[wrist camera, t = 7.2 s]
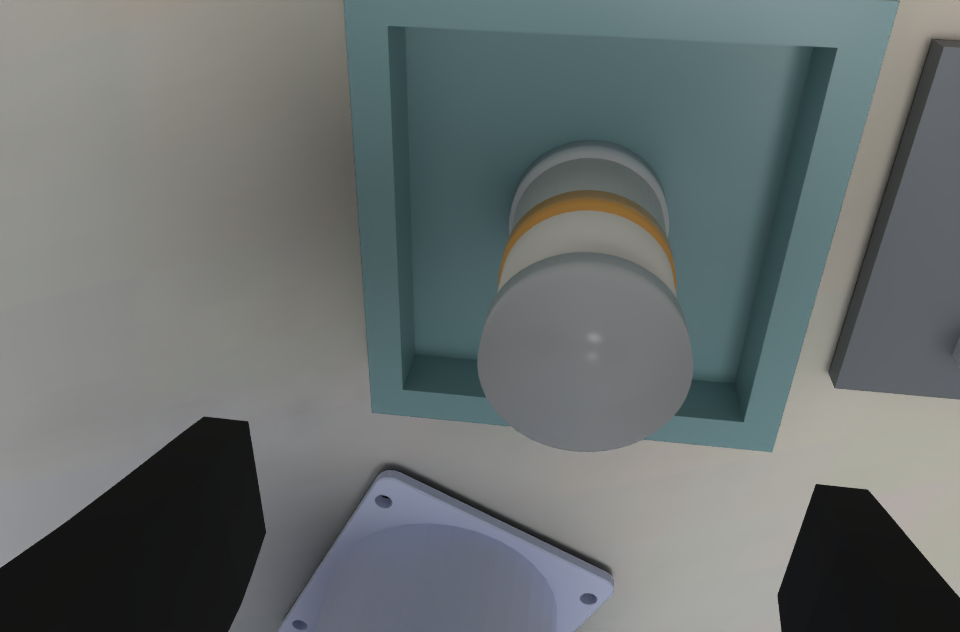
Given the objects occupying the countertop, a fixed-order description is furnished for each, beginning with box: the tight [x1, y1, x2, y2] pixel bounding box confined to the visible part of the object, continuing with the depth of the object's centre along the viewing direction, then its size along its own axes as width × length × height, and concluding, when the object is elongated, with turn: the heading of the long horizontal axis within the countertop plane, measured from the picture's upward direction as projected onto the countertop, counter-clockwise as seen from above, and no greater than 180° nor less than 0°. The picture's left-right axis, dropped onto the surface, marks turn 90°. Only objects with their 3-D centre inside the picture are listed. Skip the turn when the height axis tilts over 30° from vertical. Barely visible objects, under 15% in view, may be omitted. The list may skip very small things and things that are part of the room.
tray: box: [344, 0, 899, 452], centre depth 17 cm, size 10×10×2 cm
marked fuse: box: [477, 140, 693, 452], centre depth 15 cm, size 3×3×6 cm
